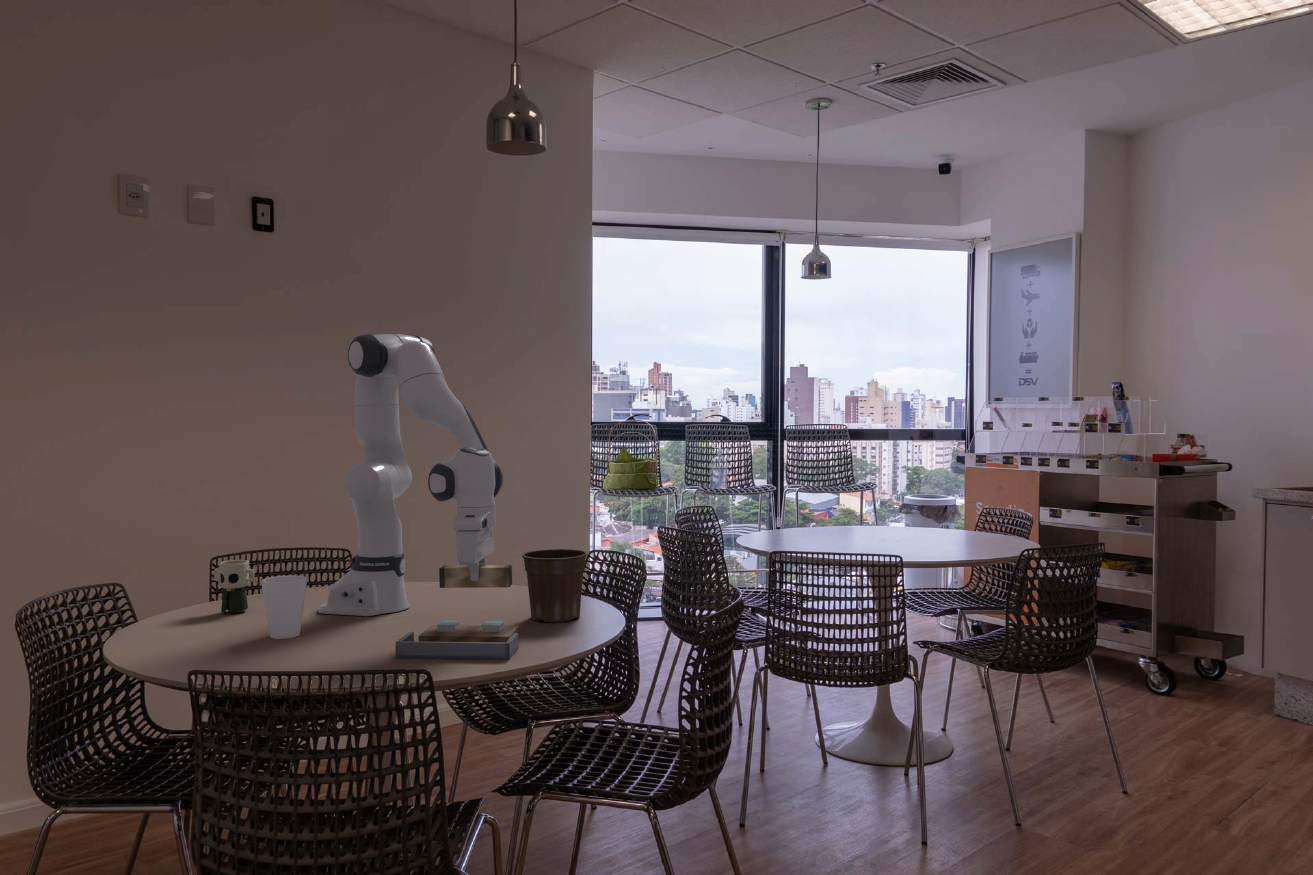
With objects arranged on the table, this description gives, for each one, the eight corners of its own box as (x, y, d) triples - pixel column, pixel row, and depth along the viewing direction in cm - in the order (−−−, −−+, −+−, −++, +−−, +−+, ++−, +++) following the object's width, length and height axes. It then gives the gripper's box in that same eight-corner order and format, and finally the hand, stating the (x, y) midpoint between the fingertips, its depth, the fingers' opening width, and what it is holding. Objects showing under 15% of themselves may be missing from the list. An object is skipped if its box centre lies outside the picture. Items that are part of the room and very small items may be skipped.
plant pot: (515, 613, 234) (514, 550, 234) (575, 608, 240) (575, 546, 240) (532, 627, 219) (532, 560, 219) (596, 621, 226) (596, 555, 225)
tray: (395, 657, 192) (395, 642, 192) (409, 646, 201) (409, 631, 201) (509, 659, 191) (509, 643, 191) (518, 648, 200) (518, 633, 200)
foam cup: (264, 642, 206) (263, 584, 205) (261, 633, 214) (260, 577, 214) (309, 637, 210) (308, 580, 210) (304, 628, 218) (303, 574, 218)
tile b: (481, 631, 204) (481, 625, 204) (486, 627, 208) (486, 621, 208) (499, 632, 204) (499, 625, 204) (503, 627, 208) (503, 621, 208)
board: (418, 647, 201) (418, 635, 201) (432, 635, 211) (432, 624, 211) (509, 648, 200) (509, 636, 200) (518, 636, 210) (518, 625, 210)
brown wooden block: (439, 587, 211) (439, 568, 211) (444, 584, 214) (443, 565, 214) (508, 587, 210) (508, 567, 210) (512, 584, 214) (511, 564, 213)
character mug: (206, 614, 234) (205, 563, 233) (223, 608, 241) (222, 559, 240) (246, 616, 232) (245, 564, 232) (262, 609, 239) (261, 560, 239)
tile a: (437, 631, 205) (437, 624, 205) (442, 627, 209) (442, 620, 209) (455, 631, 205) (455, 624, 205) (459, 627, 209) (459, 620, 209)
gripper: (474, 513, 222) (475, 570, 223) (450, 523, 202) (452, 586, 202) (500, 513, 222) (501, 570, 222) (479, 523, 202) (480, 586, 202)
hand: (477, 578), depth 212 cm, fingers closed on brown wooden block, 3 cm apart
